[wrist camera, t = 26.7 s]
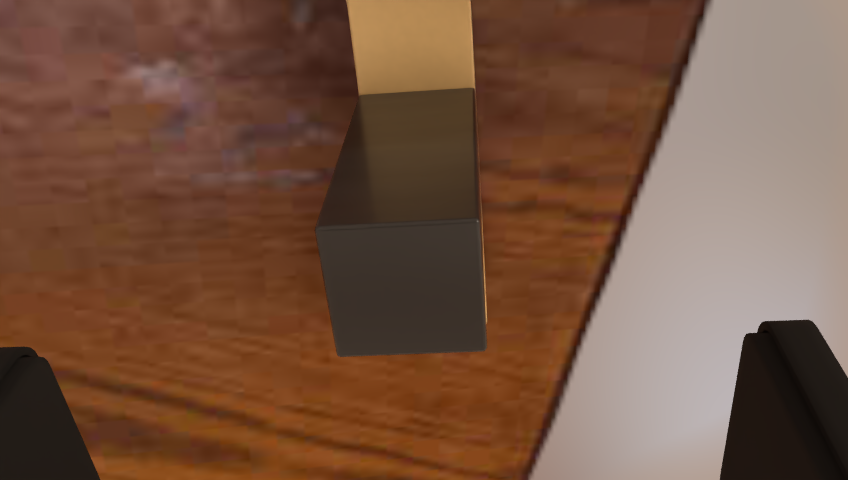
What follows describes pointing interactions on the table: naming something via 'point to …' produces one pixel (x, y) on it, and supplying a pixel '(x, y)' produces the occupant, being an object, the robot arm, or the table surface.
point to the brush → (407, 188)
